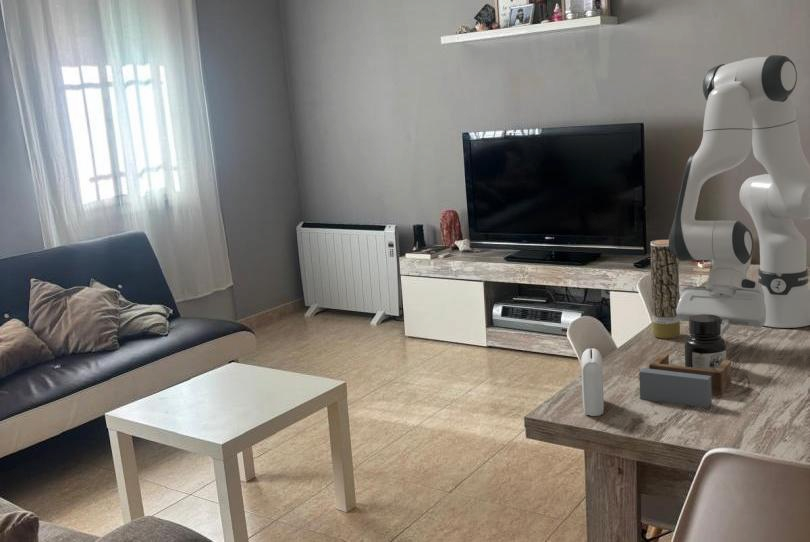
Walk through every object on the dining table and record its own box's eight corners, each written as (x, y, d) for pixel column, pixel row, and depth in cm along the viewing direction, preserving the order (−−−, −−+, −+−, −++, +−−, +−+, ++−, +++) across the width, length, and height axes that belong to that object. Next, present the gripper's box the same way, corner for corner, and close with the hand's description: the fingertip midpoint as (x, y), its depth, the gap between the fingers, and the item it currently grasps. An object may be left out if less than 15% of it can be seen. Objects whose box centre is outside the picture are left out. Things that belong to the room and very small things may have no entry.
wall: (644, 394, 176) (643, 368, 175) (711, 403, 168) (711, 375, 166) (640, 398, 174) (639, 371, 173) (708, 408, 166) (707, 379, 164)
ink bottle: (696, 377, 183) (695, 325, 181) (676, 365, 192) (675, 316, 190) (735, 371, 185) (735, 319, 183) (714, 360, 194) (713, 310, 191)
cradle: (662, 374, 187) (661, 353, 186) (731, 382, 178) (731, 360, 177) (649, 386, 180) (649, 364, 179) (720, 395, 171) (720, 372, 170)
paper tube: (681, 339, 211) (679, 243, 206) (654, 339, 213) (651, 245, 208) (678, 331, 218) (676, 239, 213) (651, 332, 219) (649, 240, 214)
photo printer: (583, 398, 177) (580, 343, 174) (603, 398, 176) (601, 343, 173) (583, 417, 167) (580, 359, 164) (604, 417, 166) (602, 358, 163)
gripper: (679, 279, 204) (667, 327, 198) (767, 283, 192) (758, 335, 186) (685, 292, 208) (673, 339, 202) (771, 297, 196) (762, 348, 191)
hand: (714, 337), depth 194 cm, fingers closed
